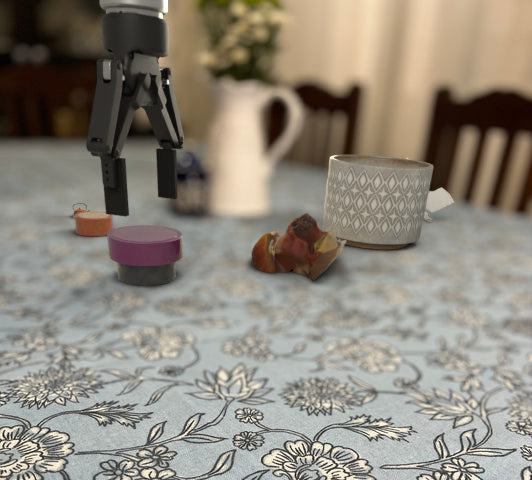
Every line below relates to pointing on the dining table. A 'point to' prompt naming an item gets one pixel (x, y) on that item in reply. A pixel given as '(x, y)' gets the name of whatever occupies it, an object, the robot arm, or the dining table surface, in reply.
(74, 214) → the teapot
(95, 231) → the terracotta dish
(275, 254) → the reddish lumpy part
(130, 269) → the dark gray disc
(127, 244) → the purple disc
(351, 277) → the dining table surface
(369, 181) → the planter
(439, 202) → the figurine
